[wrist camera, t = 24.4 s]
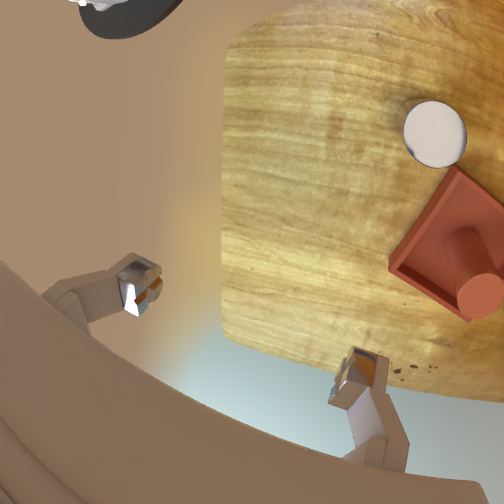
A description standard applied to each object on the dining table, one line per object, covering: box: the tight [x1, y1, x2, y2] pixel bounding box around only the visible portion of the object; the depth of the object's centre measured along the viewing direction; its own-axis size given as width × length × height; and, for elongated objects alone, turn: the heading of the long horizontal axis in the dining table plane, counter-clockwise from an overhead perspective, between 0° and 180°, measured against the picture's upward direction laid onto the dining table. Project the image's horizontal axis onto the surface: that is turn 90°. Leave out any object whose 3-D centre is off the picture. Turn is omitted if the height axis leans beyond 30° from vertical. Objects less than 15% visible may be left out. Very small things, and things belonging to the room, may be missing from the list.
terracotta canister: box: [445, 228, 504, 318], centre depth 27 cm, size 6×6×10 cm
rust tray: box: [388, 164, 504, 323], centre depth 30 cm, size 15×15×3 cm
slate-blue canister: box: [396, 98, 467, 168], centre depth 23 cm, size 6×6×10 cm
